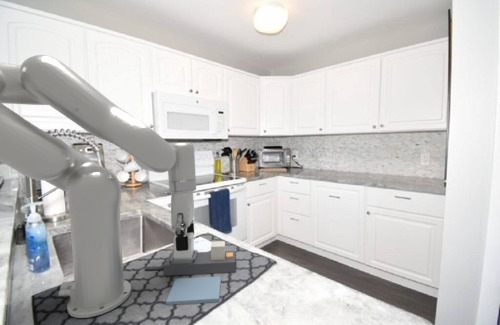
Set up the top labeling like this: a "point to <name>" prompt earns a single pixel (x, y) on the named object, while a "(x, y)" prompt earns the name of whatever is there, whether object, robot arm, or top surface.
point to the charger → (188, 253)
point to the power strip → (200, 262)
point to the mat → (195, 290)
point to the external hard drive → (202, 245)
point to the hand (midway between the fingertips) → (186, 242)
